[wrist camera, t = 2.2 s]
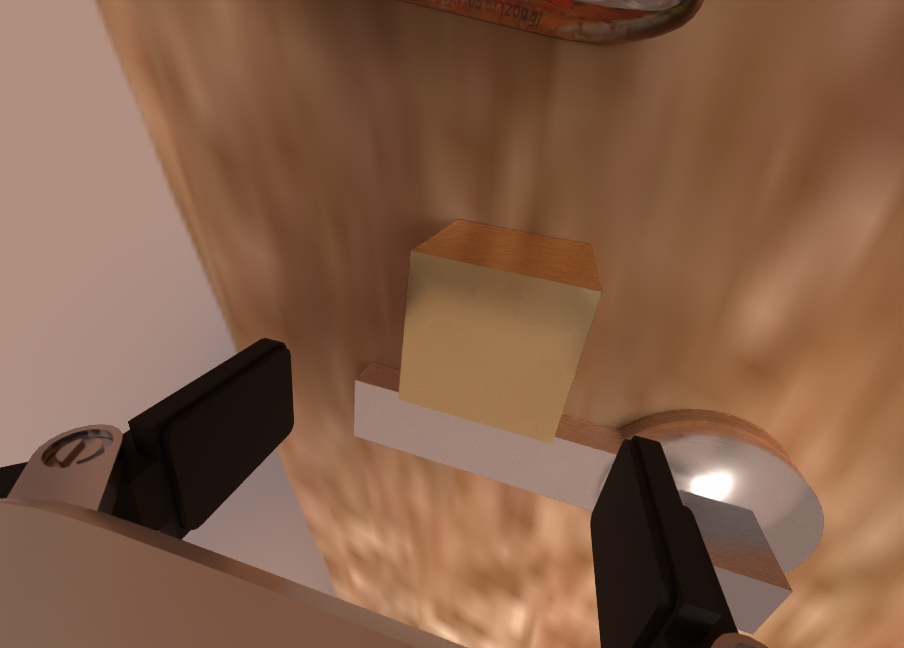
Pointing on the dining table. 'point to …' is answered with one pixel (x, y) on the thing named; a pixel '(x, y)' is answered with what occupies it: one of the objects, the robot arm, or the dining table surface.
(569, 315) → the tan wooden cube
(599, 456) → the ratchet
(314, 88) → the dining table surface
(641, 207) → the dining table surface
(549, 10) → the tin
